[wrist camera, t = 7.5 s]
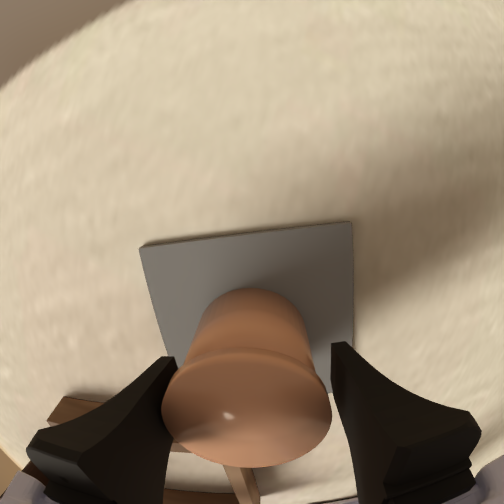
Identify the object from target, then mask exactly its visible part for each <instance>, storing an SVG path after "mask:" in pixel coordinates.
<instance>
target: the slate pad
mask: <svg viewBox="0 0 504 504" xmlns="http://www.w3.org/2000/svg"><path fill="white" fill-rule="evenodd" d="M139 253H140V257H141V261H142V266H143V270H144V274H145V278H146V282H147V286H148V289H149V293H150V297H151V300H152V304H153V308H154V311H155V315H156V318H157V322H158V325H159V328H160V332H161V335H162V338H163V341H164V344H165V347H166V351H167V354H168V356H174V357H175V360H176V363H177V366H178V369H179V368H180V367H181V366H182V365H183V364H184V361H185V359H186V356H187V353H188V351H189V348H190V345H191V342H192V340H193V337H194V334H195V332H196V329H197V326H198V324H199V321H200V319H201V316H202V314H203V312H204V311H205V309H206V308H207V307H208V305H209V304H210V303H211V302H213V301H214V300H215V299H216V298H218V297H219V296H221V295H223V294H225V293H227V292H230V291H233V290H237V289H242V288H259V289H265V290H269V291H272V292H275V293H277V294H279V295H281V296H283V297H285V298H286V299H287V300H289V301H290V302H291V303H292V304H293V305H294V306H295V307H296V308H297V309H298V311H299V312H300V314H301V316H302V318H303V320H304V323H305V327H306V331H307V336H308V340H309V344H310V349H311V353H312V357H313V362H314V366H315V371H316V374H317V375H318V376H319V377H320V378H321V380H322V382H323V383H324V385H325V387H326V390H327V393H333V391H332V386H331V380H330V373H331V343H335V342H342V341H346V342H347V343H348V344H349V345H350V346H351V347H352V337H353V292H354V283H353V238H352V223H351V222H350V221H348V222H339V223H329V224H320V225H311V226H302V227H293V228H284V229H275V230H266V231H258V232H249V233H241V234H233V235H225V236H217V237H209V238H201V239H193V240H185V241H178V242H170V243H163V244H155V245H148V246H141V247H140V248H139Z"/></svg>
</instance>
